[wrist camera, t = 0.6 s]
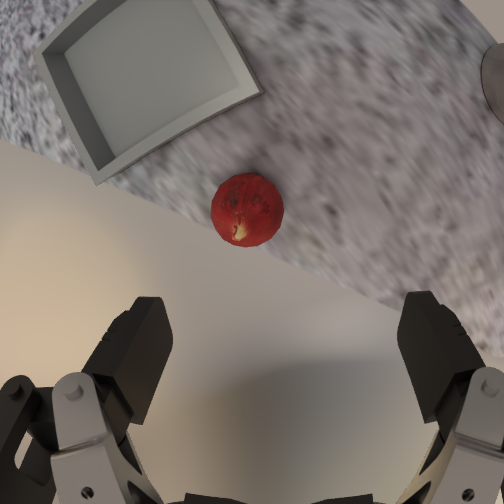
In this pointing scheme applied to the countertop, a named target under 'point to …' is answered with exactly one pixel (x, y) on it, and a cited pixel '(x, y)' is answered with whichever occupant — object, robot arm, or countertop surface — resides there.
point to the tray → (141, 76)
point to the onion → (247, 210)
